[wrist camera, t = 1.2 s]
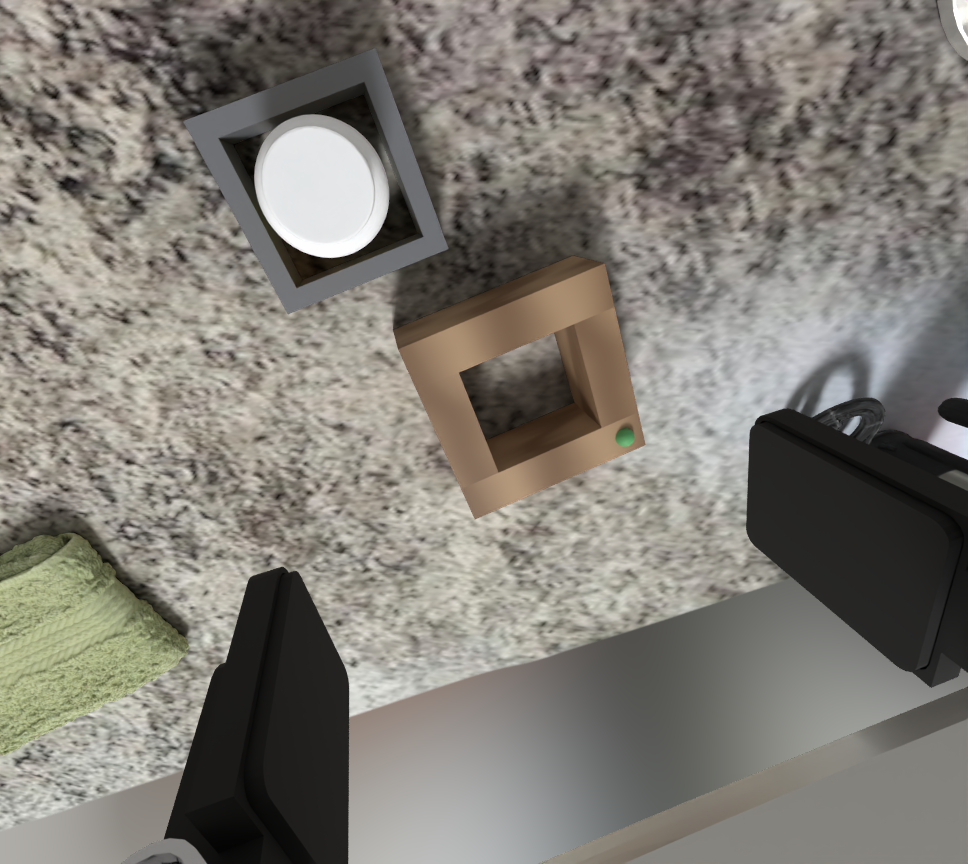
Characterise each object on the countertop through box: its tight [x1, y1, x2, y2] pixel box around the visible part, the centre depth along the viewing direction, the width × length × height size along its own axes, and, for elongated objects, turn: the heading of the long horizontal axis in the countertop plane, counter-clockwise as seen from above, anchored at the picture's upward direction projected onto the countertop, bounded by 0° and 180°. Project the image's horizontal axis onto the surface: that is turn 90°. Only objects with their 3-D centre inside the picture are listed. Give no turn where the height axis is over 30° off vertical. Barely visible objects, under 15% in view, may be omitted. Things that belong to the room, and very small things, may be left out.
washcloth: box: [0, 533, 189, 756], centre depth 33 cm, size 13×18×3 cm
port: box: [393, 256, 645, 519], centre depth 31 cm, size 12×12×5 cm
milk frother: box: [812, 398, 968, 491], centre depth 37 cm, size 14×16×15 cm
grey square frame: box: [183, 48, 448, 314], centre depth 26 cm, size 9×9×3 cm
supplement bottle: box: [254, 114, 389, 258], centre depth 23 cm, size 5×5×10 cm
